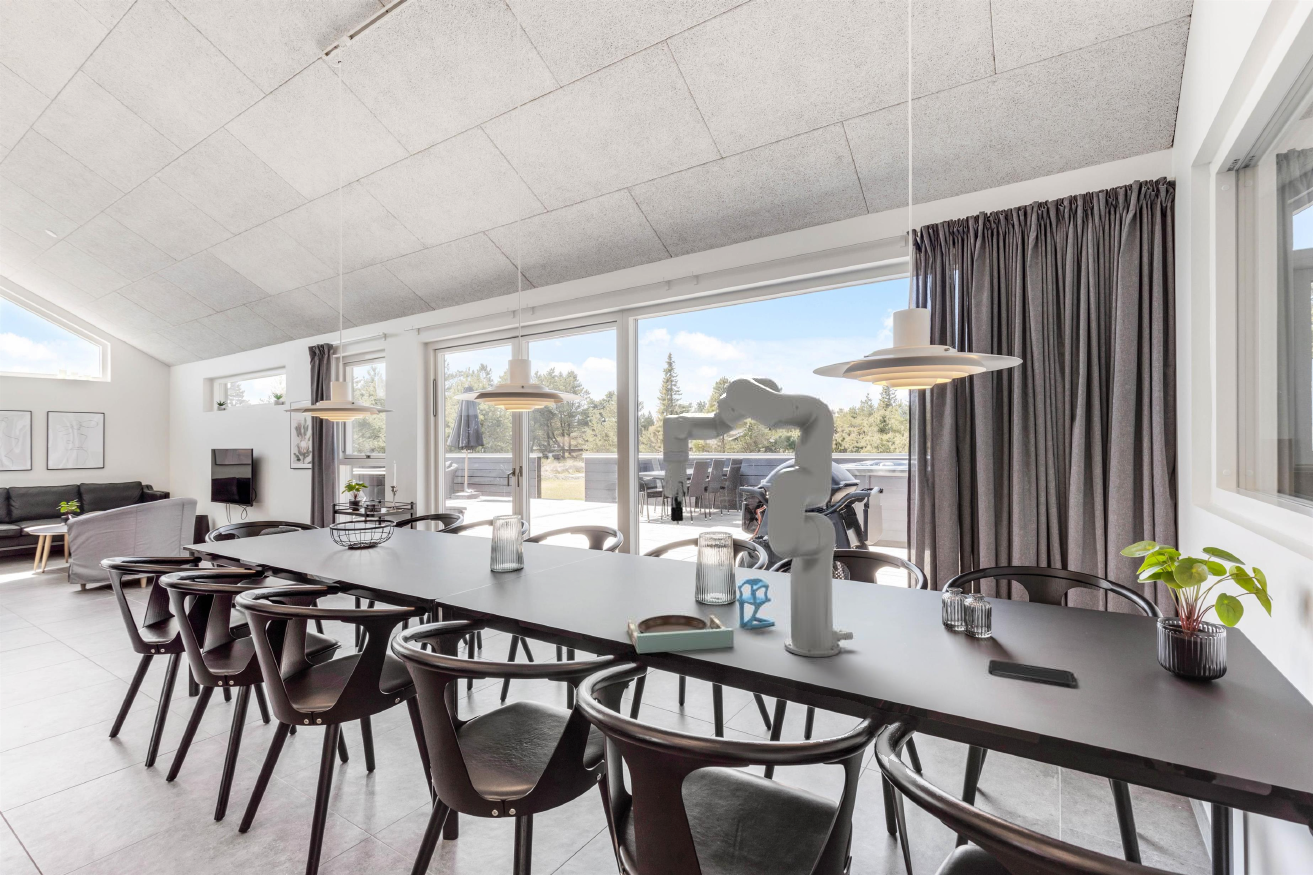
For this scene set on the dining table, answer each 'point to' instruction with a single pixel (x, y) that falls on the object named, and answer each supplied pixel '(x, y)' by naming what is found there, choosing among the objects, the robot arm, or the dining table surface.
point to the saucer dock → (683, 639)
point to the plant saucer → (671, 624)
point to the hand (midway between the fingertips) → (677, 520)
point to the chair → (753, 603)
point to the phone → (1032, 673)
